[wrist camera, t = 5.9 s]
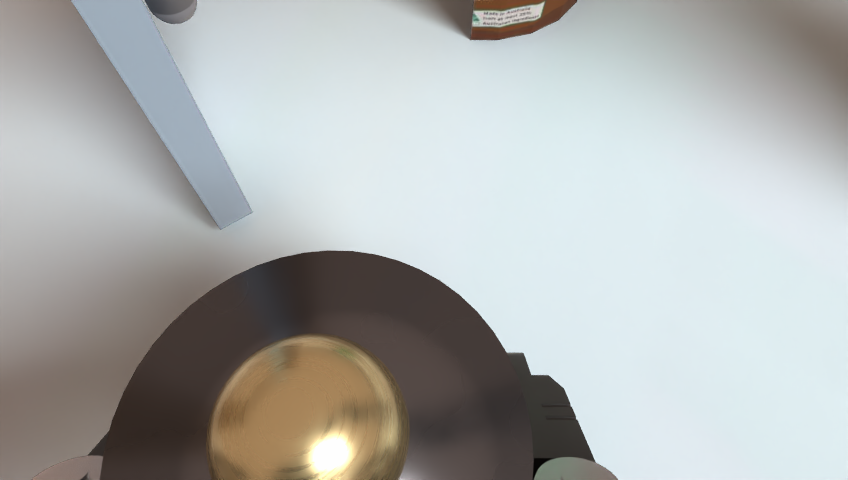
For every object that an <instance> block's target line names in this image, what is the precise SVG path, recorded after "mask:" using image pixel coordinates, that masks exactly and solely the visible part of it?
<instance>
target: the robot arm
mask: <svg viewBox="0 0 848 480" xmlns="http://www.w3.org/2000/svg"><path fill="white" fill-rule="evenodd" d="M507 354H508V357H509V359H510V361H511V363H512V365H513V367H514V370H515V372H516V374H517V376H518V378H519V382H520V385H521V388H522V391H523V394H524V397H525V400H526V403H527V409H528V414H529V419H530V425H531V430H532V443H533V459H534V463H533V480H618V479H617V478H616V476H615V475H614V474H612V473H611V472H610V471H609V470H607V469H606V468H605V467H603V466H601V465H599V464H597V463H596V462H595V460H594V458H593V455H592V453H591V451H590V448H589V446H588V444H587V441H586V439H585V437H584V434H583V432H582V430H581V427H580V425H579V423H578V420H576V416H575V413H574V411H573V409H572V407H570V402H569V400H568V397H567V395H566V393H565V390H564V388H563V387H561V386H560V385H559V384H558V383H557V382H556V381H554V380H553V379H552V378H551V377H550V376H549V375H531V373H530V370H529V367H528V364H527V362H526V359H525V356H524V354H523V353H507ZM108 434H109V432H108V433H107V434H106V435H105V436H104V437H103V439H102V440H101V441H100V442H99V443H98V444H97V445H96V447H95V448H94V449H93V450H92V451H91V452H90V454H89V455H88V456H82V457H77V458H73V459H69V460H66V461H63V462H60V463H58V464H56V465H53V466H51V467H49V468H48V469H46V470H44V471H42V472H41V473H39V474H38V475H36V476H35V477H34V478H33V479H31V480H100V474H101V467H102V460H103V454H104V448H105V445H106V441H107V438H108Z"/></svg>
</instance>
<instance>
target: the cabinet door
mask: <svg viewBox="0 0 848 480" xmlns="http://www.w3.org/2000/svg"><path fill="white" fill-rule="evenodd" d="M71 1H72V3H73V4H74V6H75V7H76V9H77V10H78V12H79V13H80V15H81V16H82V18H83V20H84V21H85V23H86V24H87V26H88V27H89V29H90V30H91V32H92V33H93V35H94V36H95V38H96V39H97V41H98V43H99V44H100V46H101V47H102V49H103V50H104V52H105V53H106V55H107V56H108V58H109V59H110V61H111V62H112V64H113V66H114V67H115V69H116V70H117V72H118V73H119V75H120V76H121V78H122V79H123V81H124V82H125V84H126V85H127V87H128V89H129V90H130V92H131V93H132V95H133V96H134V98H135V99H136V101H137V102H138V104H139V105H140V107H141V108H142V110H143V112H144V113H145V115H146V116H147V118H148V119H149V121H150V122H151V124H152V125H153V127H154V128H155V130H156V131H157V133H158V135H159V136H160V138H161V139H162V141H163V142H164V144H165V145H166V147H167V148H168V150H169V151H170V153H171V154H172V156H173V158H174V159H175V161H176V162H177V164H178V165H179V167H180V168H181V170H182V171H183V173H184V174H185V176H186V177H187V179H188V181H189V182H190V184H191V185H192V187H193V188H194V190H195V191H196V193H197V194H198V196H199V197H200V199H201V200H202V202H203V204H204V205H205V207H206V208H207V210H208V211H209V213H210V214H211V216H212V217H213V219H214V220H215V222H216V223H217V225H218V227H219V228H220V230H221V229H223V228H225V227H226V226H228V225H230V224H232V223H234V222H236V221H238V220H239V219H241V218H243V217H245V216H247V215H249V214H250V213H252V210H251V208H250V206H249V204H248V203H247V201H246V199H245V197H244V195H243V193H242V191H241V189H240V187H239V185H238V183H237V181H236V179H235V178H234V176H233V174H232V172H231V170H230V168H229V166H228V164H227V162H226V160H225V158H224V156H223V154H222V153H221V151H220V149H219V147H218V145H217V143H216V141H215V139H214V137H213V135H212V133H211V131H210V129H209V128H208V126H207V124H206V122H205V120H204V118H203V116H202V114H201V112H200V110H199V108H198V106H197V104H196V103H195V101H194V99H193V97H192V95H191V93H190V91H189V89H188V87H187V85H186V83H185V81H184V79H183V78H182V76H181V74H180V72H179V70H178V68H177V66H176V64H175V62H174V60H173V58H172V56H171V54H170V53H169V51H168V49H167V47H166V45H165V43H164V41H163V39H162V37H161V35H160V33H159V31H158V29H157V27H156V26H155V24H154V22H153V20H152V18H151V16H150V14H149V12H148V10H147V8H146V6H145V4H144V2H143V1H142V0H71ZM145 2H146V4H147V6H148V8H149V9H150V11H151V12H152V13H153V14H154V15H155V16H156V17H157V18H159V19H160V20H162V21H164V22H167V23H171V24H179V23H183V22H185V21H187V20H188V19H190V18H191V17H192V16H193V14H194V12H195V10H196V6H197V0H145Z"/></svg>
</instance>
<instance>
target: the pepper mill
mask: <svg viewBox="0 0 848 480" xmlns="http://www.w3.org/2000/svg"><path fill="white" fill-rule="evenodd" d="M533 463H534V459H533V443H532V430H531V425H530V419H529V414H528V409H527V403H526V400H525V397H524V394H523V391H522V388H521V385H520V382H519V378H518V376H517V374H516V372H515V370H514V367H513V365H512V363H511V361H510V359H509V357H508V354H507V353H506V351H505V349H504V348H503V346H502V345H501V343H500V341H499V340H498V338H497V337H496V335H495V333H494V332H493V330H492V329H491V328H490V327H489V326H488V324H487V323H486V322H485V321H484V320H483V318H482V317H481V316H480V315H479V313H478V312H477V311H476V310H475V309H474V308H473V307H472V306H471V305H469V304H468V303H467V302H466V301H465V300H464V299H463V298H462V297H461V296H460V295H459V294H457V293H456V292H455V291H453V290H452V289H451V288H449V287H448V286H446V285H445V284H444V283H442V282H441V281H439V280H438V279H436V278H434V277H432V276H430V275H429V274H427V273H425V272H423V271H421V270H420V269H417V268H415V267H412V266H410V265H407V264H405V263H402V262H400V261H397V260H394V259H390V258H386V257H382V256H379V255H375V254H368V253H361V252H354V251H319V252H308V253H301V254H297V255H292V256H287V257H282V258H279V259H276V260H273V261H270V262H267V263H263V264H260V265H257V266H255V267H253V268H251V269H249V270H246V271H244V272H242V273H240V274H238V275H235V276H233V277H232V278H230V279H228V280H227V281H225V282H223V283H222V284H220V285H218V286H217V287H215V288H213V289H212V290H210V291H209V292H208V293H206V294H205V295H204V296H202V297H201V298H200V299H198V300H197V301H196V302H194V303H193V304H192V305H191V306H189V307H188V308H187V309H186V310H185V311H184V312H183V313H182V314H181V315H180V316H179V317H178V318H177V319H176V320H174V321H173V322H172V323H171V324H170V326H169V327H168V328H167V329H166V330H165V331H164V332H163V334H162V335H161V336H160V337H159V338H158V339H157V341H156V342H155V343H154V344H153V345H152V347H151V348H150V350H149V351H148V353H147V354H146V356H145V357H144V358H143V360H142V361H141V363H140V364H139V366H138V367H137V369H136V371H135V372H134V374H133V376H132V378H131V380H130V382H129V384H128V385H127V387H126V389H125V391H124V393H123V395H122V398H121V400H120V403H119V405H118V407H117V410H116V412H115V415H114V417H113V420H112V423H111V427H110V430H109V434H108V438H107V441H106V445H105V448H104V454H103V460H102V467H101V474H100V480H533Z"/></svg>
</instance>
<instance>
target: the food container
mask: <svg viewBox="0 0 848 480" xmlns="http://www.w3.org/2000/svg"><path fill="white" fill-rule="evenodd" d="M576 2H577V0H474V2H473V14H472V27H471V39H470V40H500V39H505V38H510V37H516V36H521V35H526V34H531V33H533V32H535V31H537V30H539V29H541V28H543V27H545V26H547V25H549V24H551V23H554V22H556V21H558V20H559V19H560V18H561V17H562V16H563V15H564V14H565V13H566V12H567V11H568V10H569V9H570V8H571V7H572V6H573V5H574V4H575V3H576Z"/></svg>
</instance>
